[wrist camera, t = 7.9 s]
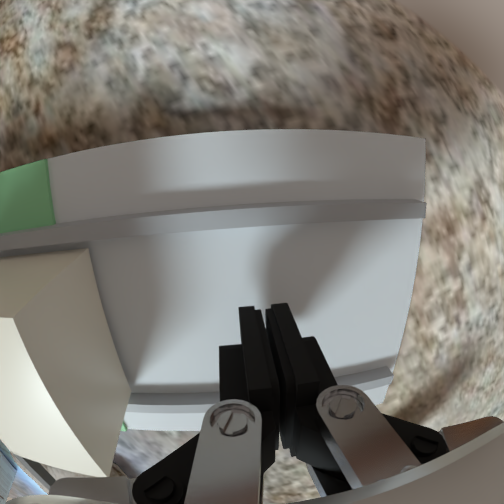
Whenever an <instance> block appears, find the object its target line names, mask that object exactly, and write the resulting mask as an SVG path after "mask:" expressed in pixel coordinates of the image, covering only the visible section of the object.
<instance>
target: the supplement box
mask: <svg viewBox="0 0 504 504" xmlns="http://www.w3.org/2000/svg"><path fill="white" fill-rule="evenodd" d="M15 475H16V470H15V469H14V467H13V466H12V465H11V464H10V463H9V461H8V460H7V459H6V458H5V456H4V455H3V454H2V453H1V451H0V504H5V503H6V500H7V497H8V494H9V491H10V489H11V486H12V483H13V481H14V478H15Z"/></svg>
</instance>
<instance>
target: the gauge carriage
mask: <svg viewBox="0 0 504 504" xmlns="http://www.w3.org/2000/svg"><path fill="white" fill-rule="evenodd" d="M130 395H131V389H130V386H129V384H128V381H127V379H126V376H125V373H124V371H123V368H122V365H121V363H120V360H119V357H118V354H117V351H116V348H115V345H114V342H113V339H112V336H111V333H110V330H109V327H108V324H107V320H106V317H105V314H104V310H103V307H102V303H101V299H100V296H99V292H98V288H97V284H96V280H95V276H94V272H93V267H92V263H91V258H90V253H89V249H88V248H84V249H74V250H64V251H54V252H44V253H35V254H25V255H16V256H7V257H0V440H1V441H2V442H3V443H4V444H5V446H6V447H7V448H8V449H9V450H10V451H11V453H12V454H13V455H14V456H15V457H16V458H17V459H18V460H19V461H20V462H21V464H22V465H23V466H24V467H25V468H26V469H27V470H28V471H29V472H30V473H31V474H32V475H33V476H34V477H35V478H36V479H37V480H38V481H39V482H40V483H41V484H42V485H43V486H45V487H46V488H47V489H48V490H49V489H50V487H51V485H52V484H53V483H54V482H55V481H56V480H55V479H54V478H53V477H52V476H51V475H50V473H49V472H48V471H47V470H46V469H45V468H44V467H43V466H42V465H41V464H40V463H42V464H45V465H49V466H52V467H56V468H60V469H63V470H67V471H71V472H76V473H80V474H85V475H90V476H95V477H109V476H110V472H111V467H112V463H113V459H114V454H115V450H116V446H117V442H118V438H119V435H120V431H121V427H122V423H123V419H124V416H125V412H126V409H127V405H128V402H129V398H130Z"/></svg>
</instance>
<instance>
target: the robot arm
mask: <svg viewBox="0 0 504 504" xmlns="http://www.w3.org/2000/svg"><path fill="white" fill-rule="evenodd" d="M238 310H239V323H240V336H241V344H236V345H223V346H219V391H220V402H218V403H216V404H214V405H213V406H211V407H210V408H209V409H208V410H207V411H206V413H205V415H204V418H203V422H202V426H201V431H200V433H199V434H197V435H196V436H195V437H193V438H192V439H191V440H189V441H188V442H186V443H185V444H184V445H182V446H181V447H180V448H178V449H177V450H175V451H174V452H173V453H171V454H170V455H168V456H167V457H165V458H164V459H162V460H161V461H160V462H158V463H157V464H155V465H154V466H152V467H151V468H149V469H148V470H146V471H144V472H143V473H142V474H141V475H139V476H138V477H137V478H130V479H128V478H127V477H126V476H116V477H90V478H73V477H67V478H60V479H58V480H57V481H55V482H54V483H53V484H52V485H51V487H50V489H49V493H48V495H31V496H23V497H18V498H14V499H12V500H10V501H7V502H6V503H5V504H263V490H264V472H265V471H266V470H267V469H268V468H269V467H270V466H271V465H272V464H273V463H274V462H275V450H278V448H279V432H280V436H281V441H282V446H283V449H287V448H289V449H290V453H291V457H293V456H296V458H297V459H299V460H301V461H303V462H305V463H306V466H307V469H308V472H309V474H310V476H311V478H312V480H313V482H314V484H315V486H316V488H317V490H318V492H319V494H320V496H321V497H320V498H316V499H311V500H305V501H300V502H294V503H288V504H504V422H503V421H502V420H501V419H499V418H497V417H493V416H489V417H484V418H481V419H477V420H473V421H469V422H466V423H461V424H457V425H453V426H448V427H444V428H441V430H440V431H439V432H437V431H435V430H433V429H431V428H427V427H424V426H420V425H417V424H414V423H410V422H407V421H404V420H401V419H398V418H394V417H391V416H388V415H385V414H382V413H381V412H380V411H379V410H378V408H377V407H376V406H375V405H374V403H373V402H372V401H371V400H370V398H369V397H368V396H367V395H366V394H365V393H364V392H363V391H362V390H360V389H358V388H356V387H353V386H349V385H338V384H337V382H336V380H335V378H334V376H333V374H332V372H331V369H330V367H329V365H328V363H327V361H326V359H325V357H324V355H323V352H322V350H321V348H320V346H319V344H318V342H317V340H316V338H315V337H314V336H310V337H303V338H302V337H301V334H300V332H299V329H298V327H297V324H296V322H295V320H294V317H293V315H292V312H291V310H290V308H289V305H288V303H277V304H271V308H268V309H265V322H266V328H265V324H264V320H263V316H262V312H261V309H258V310H255V307H254V306H244V307H238Z"/></svg>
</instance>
